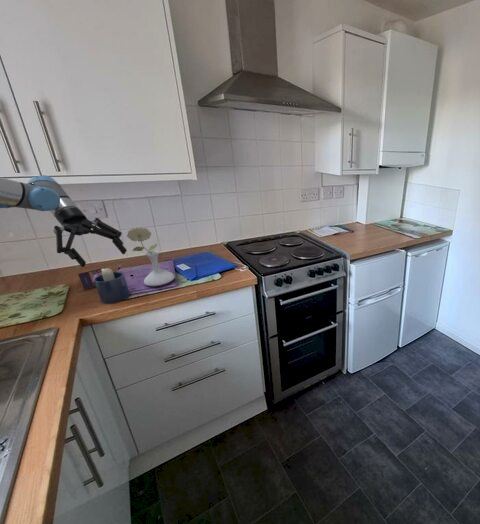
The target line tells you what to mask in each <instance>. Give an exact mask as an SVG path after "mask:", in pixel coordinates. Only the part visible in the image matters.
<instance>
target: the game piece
mask: <svg viewBox="0 0 480 524" xmlns="http://www.w3.org/2000/svg"><path fill="white" fill-rule="evenodd" d="M105 268H106V267H105ZM113 272H114V271H113V270H112V269H111V268H109V267H107V268H106V269H103V270H102V271H101V274H102V276H103V279H104V281H110V280H114V279H115V276H114V273H113Z"/></svg>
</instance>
